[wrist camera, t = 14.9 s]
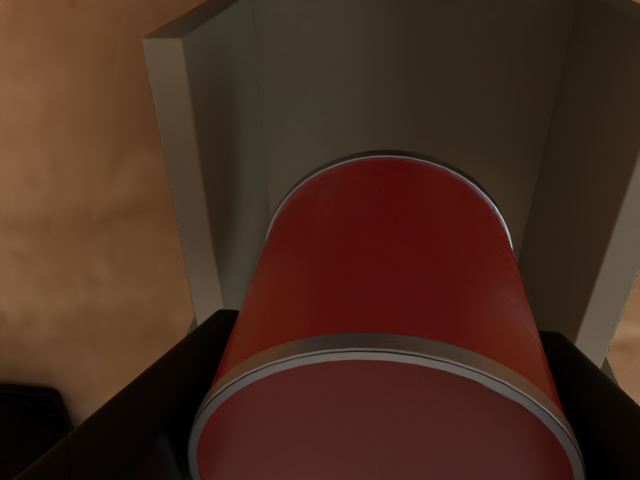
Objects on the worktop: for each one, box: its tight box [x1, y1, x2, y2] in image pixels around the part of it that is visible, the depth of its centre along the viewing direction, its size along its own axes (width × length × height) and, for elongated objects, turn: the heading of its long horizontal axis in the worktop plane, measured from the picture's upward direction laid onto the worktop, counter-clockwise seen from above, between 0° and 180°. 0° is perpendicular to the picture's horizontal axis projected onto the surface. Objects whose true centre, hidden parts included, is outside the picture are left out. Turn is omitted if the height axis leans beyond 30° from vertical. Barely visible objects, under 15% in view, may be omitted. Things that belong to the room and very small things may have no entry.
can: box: [187, 150, 587, 480], centre depth 9 cm, size 5×5×5 cm
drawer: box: [141, 0, 640, 369], centre depth 13 cm, size 21×11×7 cm, turn 1°
